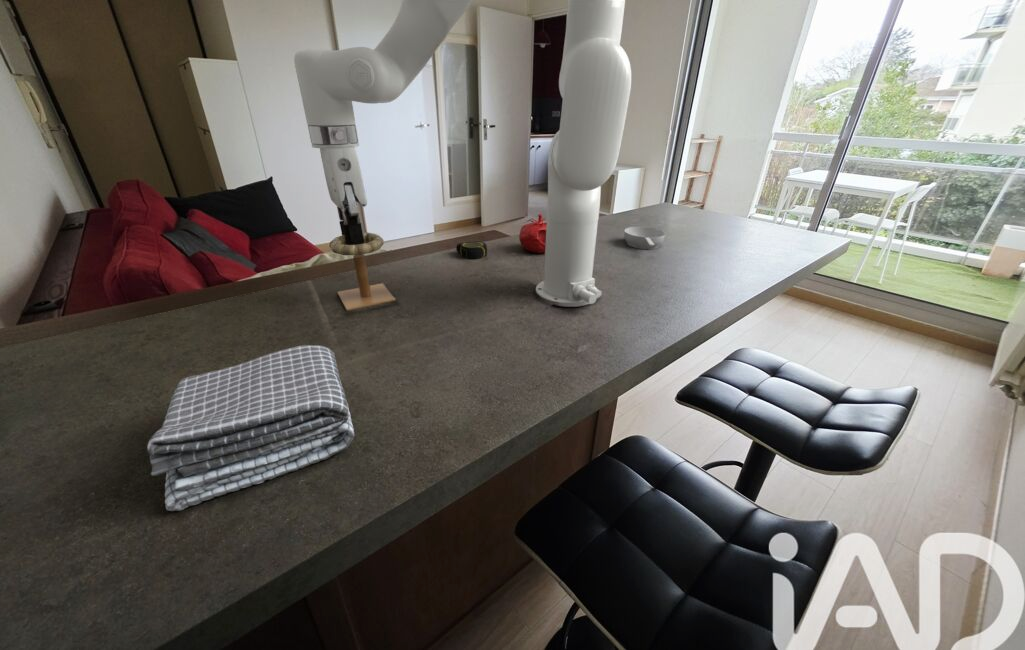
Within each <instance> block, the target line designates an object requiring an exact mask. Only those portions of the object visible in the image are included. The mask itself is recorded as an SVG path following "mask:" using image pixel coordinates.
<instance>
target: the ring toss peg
mask: <svg viewBox="0 0 1025 650" xmlns="http://www.w3.org/2000/svg"><path fill="white" fill-rule="evenodd" d="M365 255H366V254H362V255H352V258H353V263H354V269H355V273H356V274H355V275H356V279H357V286H358V287H356V288H351V289H345V290H340V291H337V295H338V298H339V300H340V301H341V303H342V304H343V306H344V308H345V310H346V312H349V311H353V310H358V309H362V308H367V307H372V306H376V305H382V304H387V303H390V302H396V298H395V297H394V295H393V294H392V293H391V292H390V290H389V289H388V288H387V287H386V286H385V284H384V283H383V282H382V283H376V284H371V285H370V280H369V273H368V268H367V261H366V256H365Z"/></svg>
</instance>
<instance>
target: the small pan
mask: <svg viewBox="0 0 1025 650" xmlns="http://www.w3.org/2000/svg"><path fill="white" fill-rule="evenodd" d="M623 235H624V237H623V238H624V240H625V242H626V245H627V246H630V247H632V248H636V249H642V250H653V249H657V248H659V247H660V245H661V244H662V243H663V242H664V240H665V237H666V232H665V231H664V230H662V229H660V228H656V227H649V226H629V227H626V228H625V229H624V234H623Z"/></svg>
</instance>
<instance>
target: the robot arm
mask: <svg viewBox="0 0 1025 650" xmlns="http://www.w3.org/2000/svg"><path fill="white" fill-rule="evenodd" d="M474 2H475V0H401V3H400V7H399V11H398V13H397V15H396V17H395V20H394V21H393V23H392V25H391V27H390V28H389V29H388V31H387V32H386V33H385V35H384V37H382V39H381V40H380V42H379V43H378V44H377V46H376V47H374V49H373V48H370V47H367V46H355V47H349V48H344V49H343V48H342V49H337V50H331V49H323V48H305V49H300V50H297V51H296V52H295V54H294V56H293V62H294V68H295V72H296V77H297V82H298V87H299V92H300V97H301V101H302V106H303V110H304V115H305V120H306V124H307V129H308V134H309V139H310V143H311V148H313V149H319V152H320V159H321V163H322V168H323V172H324V173H323V174H324V178H325V181H326V187H327V191H328V194H329V198H330V200H331V202H332V203H333V204H334V205H335V206H336V208H337V213H338V218H339V226H340V227H339V228H340V232H341V236H342V235H344V236H345V241H346V245H358V244H364V243H365V242H364V237H363V233H364V232H363V227H362V226H363V225H362V222H361V218H360V217H361V216H360V212H359V206H358V205H360V206H361V207H363V208H364V207H366V206H367V205H368V200H367V195H366V190H365V185H364V179H363V177H362V176H363V175H362V171H361V166H360V162H359V158H358V154H357V151H356V148H357V147H359V146H360V143H359V138H358V130H357V125H356V119H355V118H356V117H355V112H354V111H355V110H354V105H353V102H357V103H362V104H363V103H364V104H371V105H373V104H387V103H391V102H393V101H395V100H396V99H398V98H399V97H400V96H401V95H402V94H403V93H404V92H405V91H406V89H407V88H408V87H409V86H410V85H411V84H412V82H413V81H414V80H415V79H416V77H417V76H418V75H419V74H420V73H421V72H422V70H423V69H424V68H425V66H426V65H427V64H428V62H429V61H430V60H431V58H432V57H433V55H434V54H435V53H436V51H437V50H438V49H439V47H440V46H441V44H442V43H443V42H444V41H445V39H446V38H447V37H448V34H450V31H451V30H452V28H453V27H454V26H455V25H456V23H457V22H458V21H459V19H460V18H462V16H463V15H464V14H465V12H466V11H467V10H468V9H469V7H470V6H471V5H472V4H473V3H474ZM625 6H626V0H567V11H566V23H565V36H564V44H563V50H562V51H563V53H562V59H561V66H560V71H559V77H558V89H559V94H560V96H561V98H562V103H561V114H560V122H559V130H558V131H556V133H554V136H553V138H552V140H551V142H550V145H549V148H548V156H547V211H546V213H547V214H546V222H547V225H546V246H545V253H544V268H543V269H544V270H543V272H544V273H543V280H542V281H540V282H538V284H537V285H536V287H535V292H536V294H537V295H538V296H539V297H541V298H542V299H544V300H545V301H548V302H551V303H552V302H553V303H554V304H553V306H558V307H565V308H573V307H574V308H576V307H584V306H588V305H593V304H595V303H596V301H597V300H598V299H599V298H601V297H602V294H603V292H602V290H600V289H598V287H596V286H595V285H596V278H594V277H593V273H594V271H593V270H594V262H595V252H596V244H597V234H598V223H599V217H600V207H601V192H602V191H601V190H602V186H603V185H604V184H606V182H607V181H608V180H609V179H610V177H611V176H612V174H613V173H614V171H615V168H616V166H617V163H618V161H619V155H620V150H621V145H622V141H623V137H624V136H623V135H624V131H625V130H624V129H625V125H626V119H627V114H628V107H629V102H630V96H631V91H632V67H631V62H630V58H629V56H628V54H627V52H626V51H625V49H624V48H623V47H622V46H621V38H622V33H623V24H624V23H623V22H624V14H625Z"/></svg>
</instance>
